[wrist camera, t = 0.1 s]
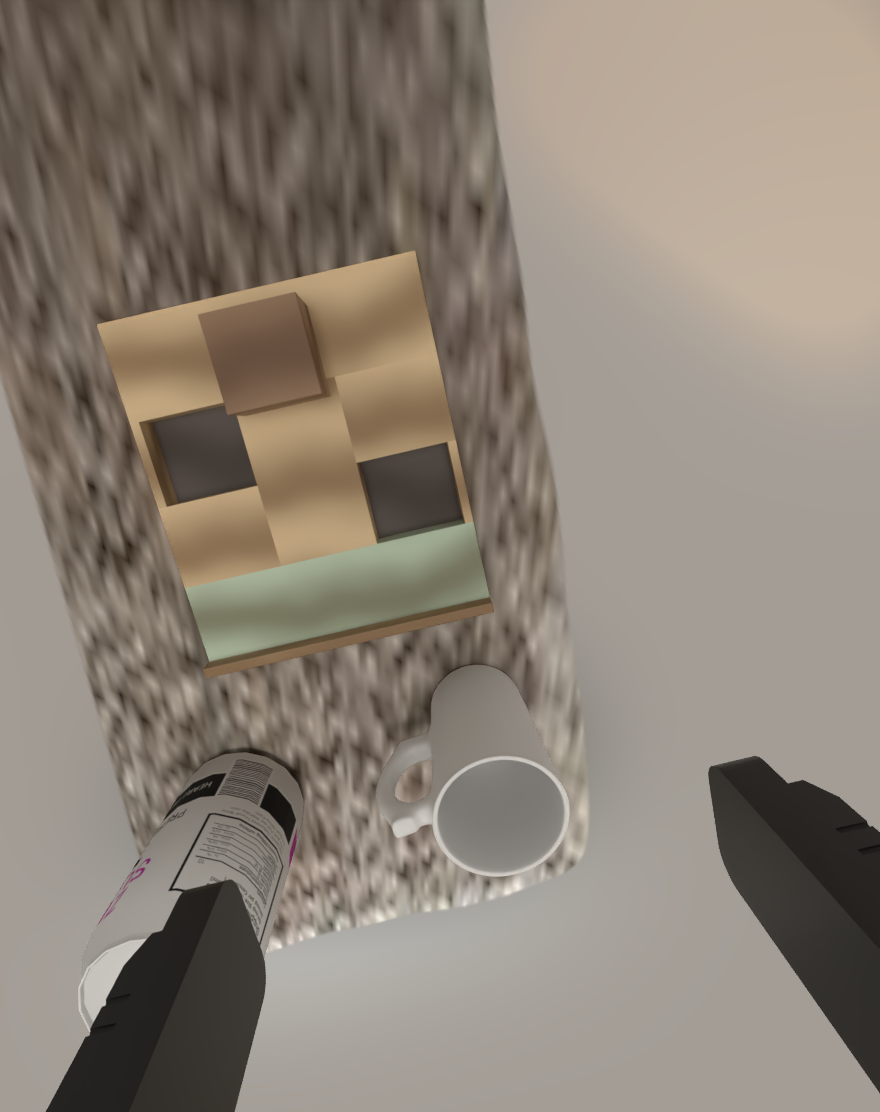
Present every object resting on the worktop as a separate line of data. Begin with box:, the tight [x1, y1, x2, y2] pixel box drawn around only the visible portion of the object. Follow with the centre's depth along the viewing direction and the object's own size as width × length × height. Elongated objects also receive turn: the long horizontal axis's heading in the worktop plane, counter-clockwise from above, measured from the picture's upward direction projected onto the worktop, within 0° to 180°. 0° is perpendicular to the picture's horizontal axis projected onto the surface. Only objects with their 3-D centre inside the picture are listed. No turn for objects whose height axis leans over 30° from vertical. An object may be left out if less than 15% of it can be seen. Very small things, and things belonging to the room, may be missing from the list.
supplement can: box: [78, 752, 304, 1032], centre depth 34 cm, size 8×8×15 cm
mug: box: [376, 665, 570, 876], centre depth 35 cm, size 10×7×12 cm, turn 105°
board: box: [97, 251, 494, 678], centre depth 35 cm, size 21×18×3 cm
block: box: [198, 292, 330, 416], centre depth 32 cm, size 5×5×4 cm
